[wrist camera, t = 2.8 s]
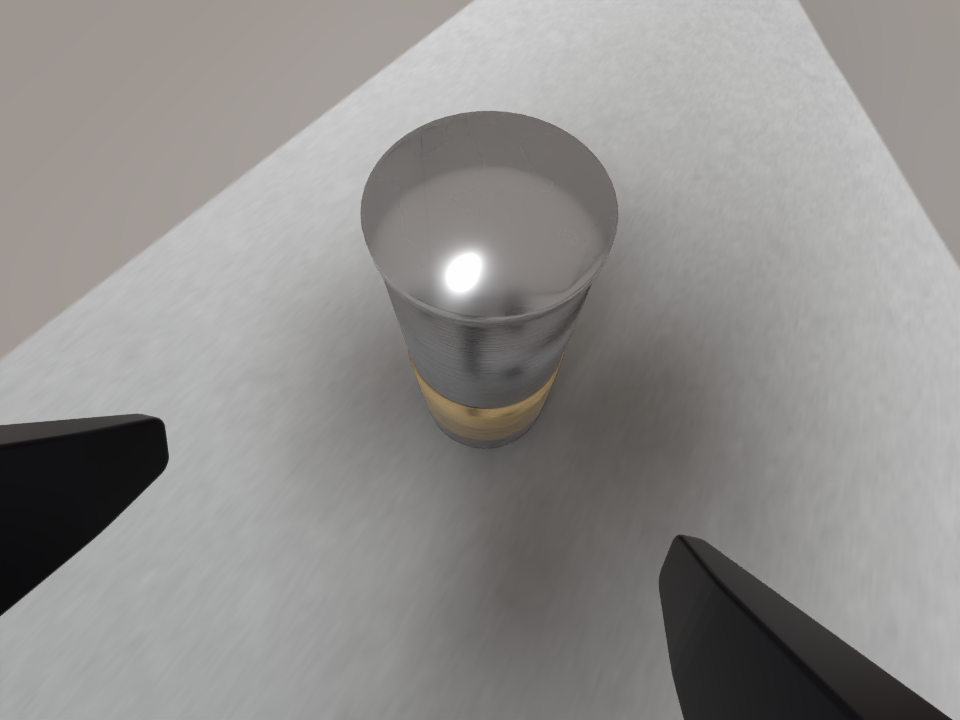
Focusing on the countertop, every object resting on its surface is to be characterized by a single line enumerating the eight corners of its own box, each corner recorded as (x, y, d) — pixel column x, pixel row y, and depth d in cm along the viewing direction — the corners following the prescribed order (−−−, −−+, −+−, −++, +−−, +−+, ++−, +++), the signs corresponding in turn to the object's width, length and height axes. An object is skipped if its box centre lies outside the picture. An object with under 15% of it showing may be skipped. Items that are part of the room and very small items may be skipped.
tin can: (494, 476, 21) (512, 370, 9) (399, 398, 22) (306, 217, 10) (569, 382, 23) (666, 188, 11) (476, 315, 24) (472, 78, 12)
